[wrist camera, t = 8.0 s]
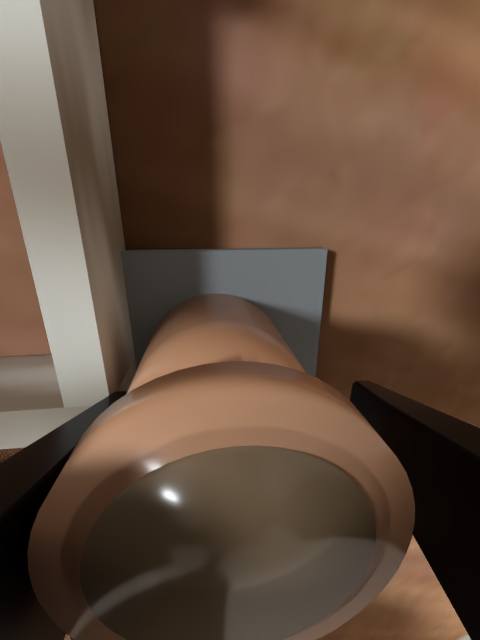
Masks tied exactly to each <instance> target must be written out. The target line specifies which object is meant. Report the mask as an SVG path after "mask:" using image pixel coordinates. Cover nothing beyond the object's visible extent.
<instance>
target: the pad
mask: <svg viewBox="0 0 480 640" xmlns="http://www.w3.org/2000/svg"><path fill="white" fill-rule="evenodd" d="M327 251H328V249H326V248H322V247H310V248H237V249H164V250H124V251H122V252H121V258H122V265H123V272H124V280H125V287H126V295H127V302H128V309H129V317H130V324H131V332H132V339H133V346H134V354H135V361H136V369H138V367H139V364H140V362H141V360H142V358H143V355H144V353H145V351H146V349H147V346H148V344H149V342H150V340H151V337H152V335H153V333H154V331H155V329H156V327H157V325H158V324H159V322H160V321H161V320H162V318H163V317H164V316H165V315H166V314H167V313H168V312H169V311H170V310H171V309H173V308H174V307H175V306H177V305H178V304H180V303H182V302H184V301H186V300H188V299H190V298H193V297H196V296H200V295H205V294H214V293H216V294H228V295H234V296H237V297H240V298H243V299H245V300H247V301H250V302H251V303H253V304H254V305H256V306H258V307H259V308H260V309H261V310H262V311H264V313H265V314H266V315H267V316H268V317H269V318H270V320H271V321H272V323H273V324H274V326H275V327H276V329H277V330H278V332H279V333H280V335H281V336H282V338H283V339H284V341H285V342H286V343H287V345H288V346H289V348H290V349H291V351H292V352H293V354H294V355H295V357H296V358H297V360H298V361H299V363H300V364H301V366H302V367H303V369H304V370H305V372H306V373H307V374H309V375H311V376H314V377H316V368H317V358H318V347H319V336H320V326H321V315H322V304H323V294H324V283H325V272H326V262H327Z"/></svg>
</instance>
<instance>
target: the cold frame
mask: <svg viewBox="0 0 480 640" xmlns="http://www.w3.org/2000/svg"><path fill="white" fill-rule="evenodd" d="M0 141H1V145H2V149H3V153H4V157H5V161H6V166H7V170H8V174H9V178H10V182H11V187H12V191H13V195H14V199H15V203H16V207H17V212H18V216H19V220H20V224H21V228H22V233H23V237H24V241H25V245H26V249H27V254H28V258H29V262H30V266H31V270H32V274H33V279H34V283H35V287H36V291H37V295H38V300H39V304H40V308H41V312H42V316H43V320H44V325H45V329H46V333H47V337H48V341H49V346H50V350H51V354H52V355H35V356H15V357H0V449H11V448H24V447H27V446H28V445H30V444H32V443H33V442H35V441H36V440H38V439H40V438H41V437H43V436H45V435H46V434H48V433H49V432H51V431H53V430H54V429H56V428H57V427H59V426H61V425H62V424H64V423H65V422H67V421H69V420H70V419H72V418H73V417H75V416H77V415H78V414H80V413H82V412H83V411H85V410H86V409H88V408H90V407H91V406H93V405H94V404H96V403H98V402H99V401H101V400H102V399H104V398H106V397H107V396H109V395H110V394H112V393H114V392H116V391H128V389H129V387H130V385H131V382H132V380H133V378H134V376H135V373H136V371H137V369H136V361H135V354H134V346H133V339H132V332H131V324H130V317H129V309H128V302H127V295H126V287H125V280H124V272H123V265H122V258H121V252H122V251H124V250H125V242H124V235H123V227H122V219H121V211H120V204H119V196H118V188H117V181H116V173H115V165H114V157H113V150H112V142H111V134H110V127H109V119H108V111H107V103H106V96H105V88H104V80H103V73H102V65H101V57H100V49H99V42H98V34H97V26H96V19H95V11H94V3H93V0H0Z"/></svg>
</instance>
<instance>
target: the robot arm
mask: <svg viewBox="0 0 480 640" xmlns="http://www.w3.org/2000/svg"><path fill="white" fill-rule="evenodd" d="M126 394H127V391H116V392H114V393H112V394H110V395H109V396H107V397H106V398H104V399H102V400H101V401H99V402H98V403H96V404H94V405H93V406H91V407H90V408H88V409H86V410H85V411H83V412H82V413H80V414H78V415H77V416H75V417H73V418H72V419H70V420H69V421H67V422H65V423H64V424H62V425H61V426H59V427H57V428H56V429H54V430H53V431H51V432H49V433H48V434H46V435H45V436H43V437H41V438H40V439H38V440H36V441H35V442H33V443H32V444H30V445H28V446H27V447H25V448H24V449H22V450H20V451H19V452H17V453H16V454H14V455H12V456H11V457H9V458H8V459H6V460H4V461H3V462H1V463H0V640H64V637H65V634H66V633H65V632H64V631H63V630H62V629H61V628H60V627H58V626H57V625H56V624H55V623H54V622H53V621H52V620H51V618H50V617H49V616H48V614H47V613H46V612H45V610H44V609H43V608H42V606H41V605H40V603H39V601H38V599H37V597H36V595H35V593H34V590H33V588H32V584H31V580H30V576H29V572H28V555H27V551H28V545H29V539H30V533H31V530H32V527H33V524H34V522H35V519H36V517H37V514H38V511H39V509H40V508H41V506H42V504H43V502H44V501H45V499H46V497H47V495H48V494H49V492H50V490H51V488H52V487H53V485H54V483H55V481H56V480H57V478H58V476H59V474H60V473H61V471H62V469H63V467H64V465H65V464H66V462H67V460H68V458H69V457H70V455H71V453H72V451H73V450H74V448H75V446H76V445H77V443H78V441H79V440H80V438H81V436H82V435H83V434H84V432H85V431H86V430H87V429H88V428H89V426H90V425H91V424H92V423H93V422H94V420H95V419H96V418H97V417H98V416H99V415H100V414H102V413H103V412H104V411H105V410H106V409H107V408H108V407H109V406H111V405H112V404H113V403H114V402H116V401H117V400H119V399H120V398H121V397H123V396H124V395H126ZM350 401H351V402H352V403H353V405H354V406H355V407H356V408H357V409H358V410H359V411H360V412H361V414H362V415H363V416H364V417H365V419H366V420H367V421H368V422H369V423H370V425H371V426H372V427H373V428H374V430H375V431H376V432H377V433H378V434H379V436H380V437H381V438H382V439H383V441H384V442H385V443H386V444H387V445H388V447H389V448H390V449H391V450H392V452H393V453H394V454H395V455H396V456H397V458H398V460H399V461H400V463H401V465H402V466H403V468H404V469H405V471H406V473H407V476H408V478H409V481H410V484H411V486H412V490H413V496H414V502H415V523H414V528H413V533H412V534H413V536H414V538H415V539H416V541H417V543H418V545H419V546H420V548H421V550H422V552H423V554H424V555H425V557H426V559H427V561H428V563H429V564H430V566H431V568H432V570H433V572H434V573H435V575H436V577H437V579H438V581H439V582H440V584H441V586H442V588H443V590H444V591H445V593H446V595H447V597H448V599H449V600H450V602H451V604H452V606H453V608H454V609H455V611H456V613H457V615H458V617H459V618H460V620H461V622H462V624H463V626H464V627H465V629H466V631H467V633H468V635H469V636H470V638H471V640H480V428H478V427H475V426H473V425H471V424H468V423H466V422H464V421H461V420H459V419H457V418H454V417H452V416H450V415H447V414H445V413H442V412H440V411H438V410H435V409H433V408H431V407H428V406H426V405H424V404H421V403H419V402H417V401H414V400H412V399H410V398H407V397H405V396H403V395H400V394H398V393H396V392H393V391H391V390H389V389H386V388H384V387H381V386H379V385H377V384H374V383H372V382H370V381H355V382H354V383H353V385H352V391H351V398H350ZM70 638H71V640H75V639H73V638H72V637H70Z"/></svg>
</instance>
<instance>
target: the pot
mask: <svg viewBox="0 0 480 640" xmlns="http://www.w3.org/2000/svg"><path fill="white" fill-rule="evenodd" d="M414 523H415V502H414V496H413V490H412V486H411V484H410V481H409V478H408V476H407V473H406V471H405V469H404V468H403V466H402V465H401V463H400V461H399V460H398V458H397V456H396V455H395V454H394V453H393V452H392V450H391V449H390V448H389V447H388V445H387V444H386V443H385V442H384V441H383V439H382V438H381V437H380V436H379V434H378V433H377V432H376V431H375V430H374V428H373V427H372V426H371V425H370V423H369V422H368V421H367V420H366V419H365V417H364V416H363V415H362V414H361V412H360V411H359V410H358V409H357V408H356V407H355V406H354V405H353V403H352V402H351V401H350V400H349V399H348V398H346V397H345V396H344V395H343V394H342V393H340V392H339V391H338V390H337V389H335V388H334V387H332V386H330V385H329V384H327V383H325V382H324V381H322V380H320V379H318V378H316V377H314V376H311V375H309V374H307V373H306V372H305V370H304V369H303V367H302V366H301V364H300V363H299V361H298V360H297V358H296V357H295V355H294V354H293V352H292V351H291V349H290V348H289V346H288V345H287V343H286V342H285V341H284V339H283V338H282V336H281V335H280V333H279V332H278V330H277V329H276V327H275V326H274V324H273V323H272V321H271V320H270V318H269V317H268V316H267V315H266V314H265V313H264V311H262V310H261V309H260V308H259V307H258V306H256V305H254V304H253V303H251V302H250V301H247V300H245V299H243V298H240V297H237V296H234V295H228V294H216V293H214V294H205V295H200V296H196V297H193V298H190V299H188V300H186V301H184V302H182V303H180V304H178V305H177V306H175V307H174V308H173V309H171V310H170V311H169V312H168V313H167V314H166V315H165V316H164V317H163V318H162V320H161V321H160V322H159V324H158V325H157V327H156V329H155V331H154V333H153V335H152V337H151V340H150V342H149V344H148V346H147V349H146V351H145V353H144V355H143V358H142V360H141V362H140V364H139V367H138V369H137V371H136V373H135V376H134V378H133V380H132V382H131V385H130V387H129V389H128V391H127V394H126V395H124V396H123V397H121V398H120V399H119V400H117V401H116V402H114V403H113V404H112V405H111V406H109V407H108V408H107V409H106V410H105V411H104V412H103V413H102V414H100V415H99V416H98V417H97V418H96V419H95V420H94V422H93V423H92V424H91V425H90V426H89V428H88V429H87V430H86V431H85V432H84V434H83V435H82V436H81V438H80V440H79V441H78V443H77V445H76V446H75V448H74V450H73V451H72V453H71V455H70V457H69V458H68V460H67V462H66V464H65V465H64V467H63V469H62V471H61V473H60V474H59V476H58V478H57V480H56V481H55V483H54V485H53V487H52V488H51V490H50V492H49V494H48V495H47V497H46V499H45V501H44V502H43V504H42V506H41V508H40V509H39V511H38V514H37V517H36V519H35V522H34V524H33V527H32V530H31V533H30V539H29V545H28V551H27V555H28V572H29V576H30V580H31V584H32V588H33V590H34V593H35V595H36V597H37V599H38V601H39V603H40V605H41V606H42V608H43V609H44V610H45V612H46V613H47V614H48V616H49V617H50V618H51V620H52V621H53V622H54V623H55V624H56V625H57V626H58V627H60V628H61V629H62V630H63V631H64V632H65V633H66V634H68V635H69V636H70V637H72V638H73V639H75V640H317V639H319V638H321V637H323V636H325V635H327V634H329V633H330V632H332V631H334V630H335V629H337V628H338V627H340V626H341V625H343V624H344V623H346V622H347V621H349V620H350V619H351V618H353V617H354V616H355V615H356V614H358V613H359V612H360V611H362V610H363V609H364V608H365V607H366V606H367V605H368V604H369V603H370V602H371V601H372V600H374V599H375V598H376V597H377V595H378V594H379V593H380V592H381V591H382V590H383V589H384V587H385V586H386V585H387V584H388V583H389V581H390V580H391V578H392V577H393V576H394V574H395V573H396V571H397V570H398V568H399V566H400V564H401V562H402V560H403V559H404V557H405V555H406V552H407V550H408V547H409V544H410V541H411V538H412V533H413V528H414Z"/></svg>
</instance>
